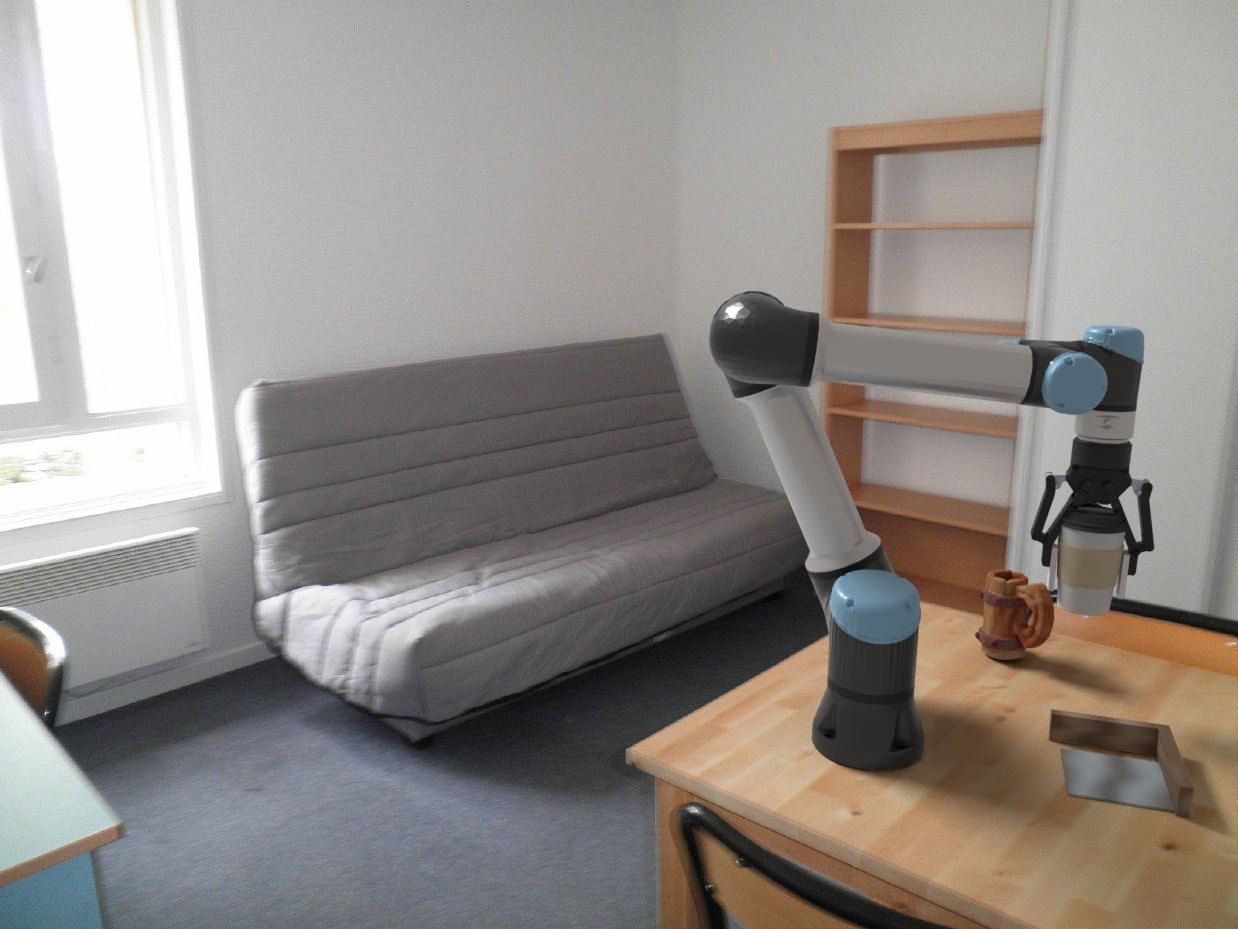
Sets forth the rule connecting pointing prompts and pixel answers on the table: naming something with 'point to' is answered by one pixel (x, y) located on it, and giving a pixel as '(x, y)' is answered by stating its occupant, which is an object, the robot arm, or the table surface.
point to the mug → (1013, 615)
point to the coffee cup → (1089, 559)
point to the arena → (1123, 762)
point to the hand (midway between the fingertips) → (1084, 591)
